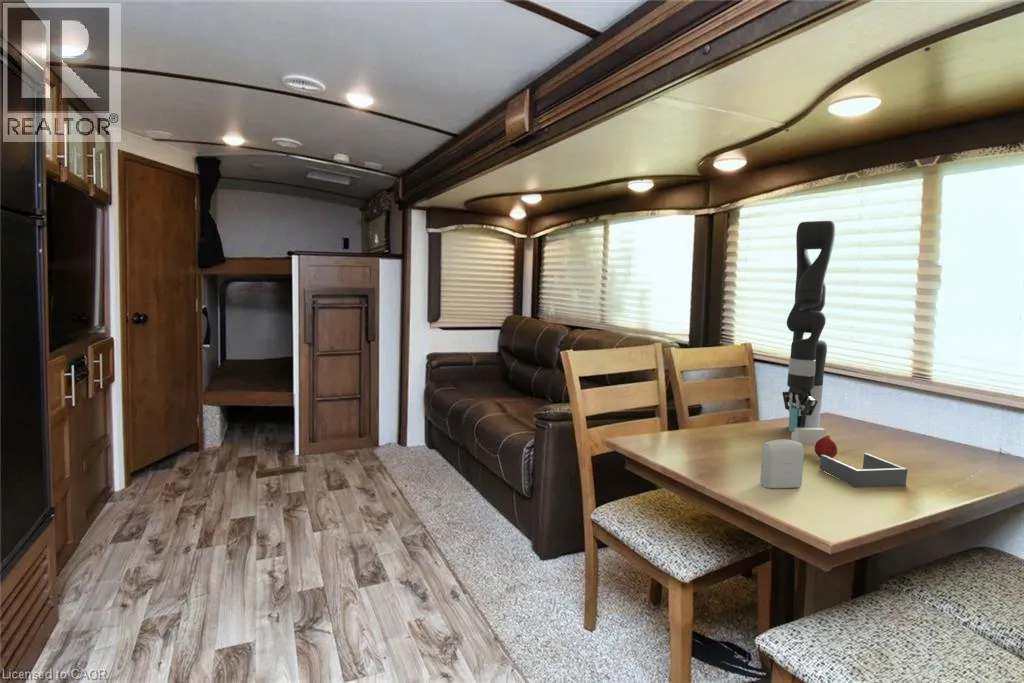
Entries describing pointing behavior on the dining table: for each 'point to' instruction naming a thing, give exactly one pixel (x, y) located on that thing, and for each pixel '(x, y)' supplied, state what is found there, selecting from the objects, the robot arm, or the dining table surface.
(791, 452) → the photo printer
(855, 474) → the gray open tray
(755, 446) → the dining table surface
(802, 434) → the teal-handled white slab
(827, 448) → the onion
